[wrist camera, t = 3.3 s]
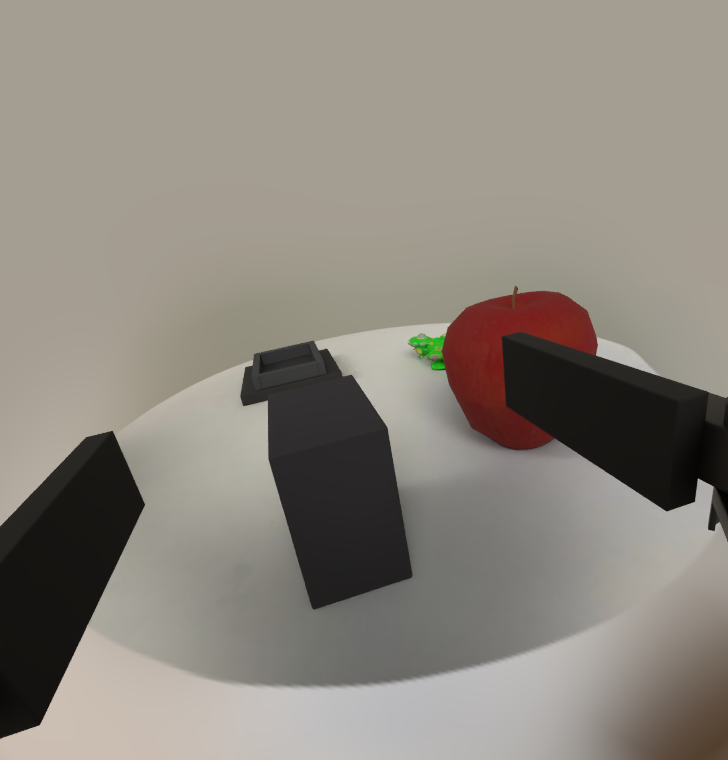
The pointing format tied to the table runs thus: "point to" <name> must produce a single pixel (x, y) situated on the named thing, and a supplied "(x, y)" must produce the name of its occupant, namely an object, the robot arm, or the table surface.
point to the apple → (485, 357)
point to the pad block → (337, 489)
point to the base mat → (287, 371)
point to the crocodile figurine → (429, 349)
